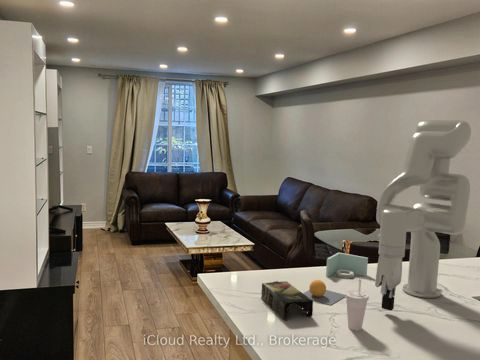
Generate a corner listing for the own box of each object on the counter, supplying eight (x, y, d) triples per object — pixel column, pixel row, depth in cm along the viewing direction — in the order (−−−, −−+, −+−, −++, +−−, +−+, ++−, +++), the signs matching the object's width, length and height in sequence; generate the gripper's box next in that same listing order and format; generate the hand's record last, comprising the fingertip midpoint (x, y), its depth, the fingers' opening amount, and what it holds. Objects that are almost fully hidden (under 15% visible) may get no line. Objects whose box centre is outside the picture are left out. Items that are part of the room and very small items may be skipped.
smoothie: (367, 333, 128) (370, 284, 126) (343, 331, 129) (346, 281, 128) (365, 324, 134) (369, 277, 133) (343, 322, 135) (346, 274, 134)
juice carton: (258, 297, 153) (259, 279, 153) (285, 295, 157) (286, 278, 156) (283, 322, 135) (284, 302, 134) (313, 319, 138) (315, 299, 137)
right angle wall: (325, 277, 179) (326, 258, 178) (337, 270, 189) (338, 252, 188) (356, 284, 172) (357, 264, 171) (366, 276, 182) (367, 257, 182)
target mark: (315, 287, 165) (315, 287, 165) (346, 295, 158) (346, 295, 158) (297, 296, 155) (297, 295, 155) (330, 305, 148) (330, 304, 148)
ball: (330, 282, 156) (325, 297, 157) (315, 275, 159) (311, 290, 160) (324, 286, 152) (320, 301, 153) (309, 279, 154) (305, 294, 155)
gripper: (388, 243, 149) (384, 299, 151) (370, 252, 138) (366, 312, 139) (412, 248, 145) (407, 305, 147) (395, 257, 133) (390, 319, 135)
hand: (387, 308), depth 143 cm, fingers closed
